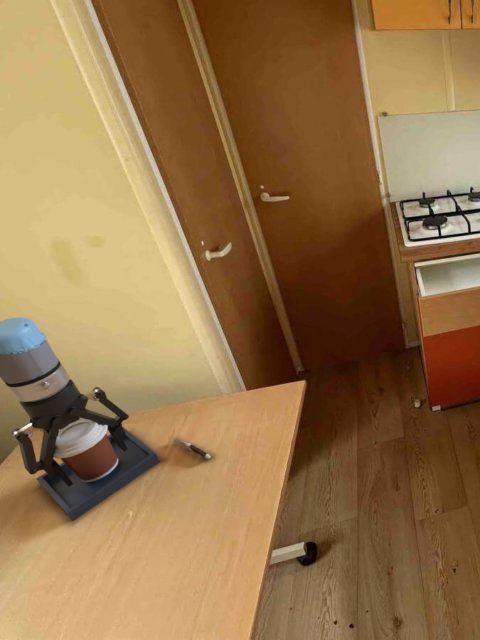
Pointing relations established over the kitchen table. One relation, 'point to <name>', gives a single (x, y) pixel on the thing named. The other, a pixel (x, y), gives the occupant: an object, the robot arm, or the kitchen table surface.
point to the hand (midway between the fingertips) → (96, 464)
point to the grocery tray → (92, 493)
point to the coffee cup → (86, 449)
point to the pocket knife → (194, 449)
